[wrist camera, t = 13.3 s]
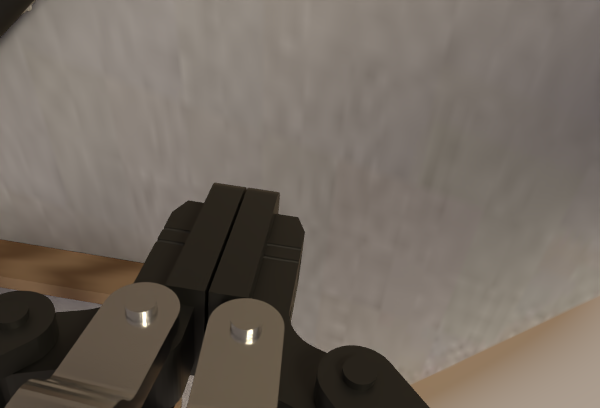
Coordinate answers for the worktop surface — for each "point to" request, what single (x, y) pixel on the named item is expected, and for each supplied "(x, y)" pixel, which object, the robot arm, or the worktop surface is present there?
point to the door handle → (12, 12)
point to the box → (63, 272)
